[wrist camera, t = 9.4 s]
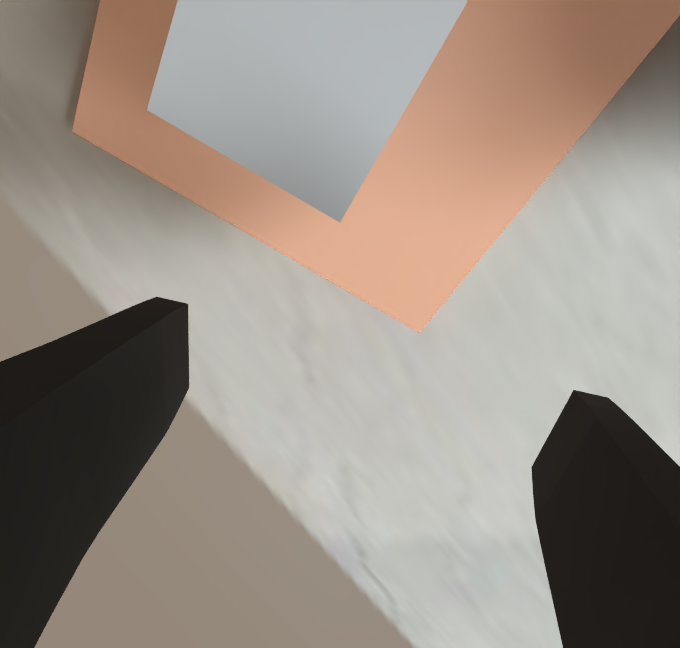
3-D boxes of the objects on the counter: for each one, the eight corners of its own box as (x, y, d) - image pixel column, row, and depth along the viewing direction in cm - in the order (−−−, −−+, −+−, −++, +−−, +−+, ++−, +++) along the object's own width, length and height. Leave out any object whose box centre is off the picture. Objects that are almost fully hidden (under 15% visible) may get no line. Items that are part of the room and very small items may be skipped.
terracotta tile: (712, -42, 12) (729, -45, 12) (420, 322, 19) (419, 333, 18) (214, -431, 10) (200, -462, 10) (85, 126, 17) (71, 131, 17)
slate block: (452, 10, 13) (467, 1, 7) (375, 145, 15) (340, 222, 9) (321, -77, 13) (224, -165, 7) (261, 74, 15) (146, 110, 9)
